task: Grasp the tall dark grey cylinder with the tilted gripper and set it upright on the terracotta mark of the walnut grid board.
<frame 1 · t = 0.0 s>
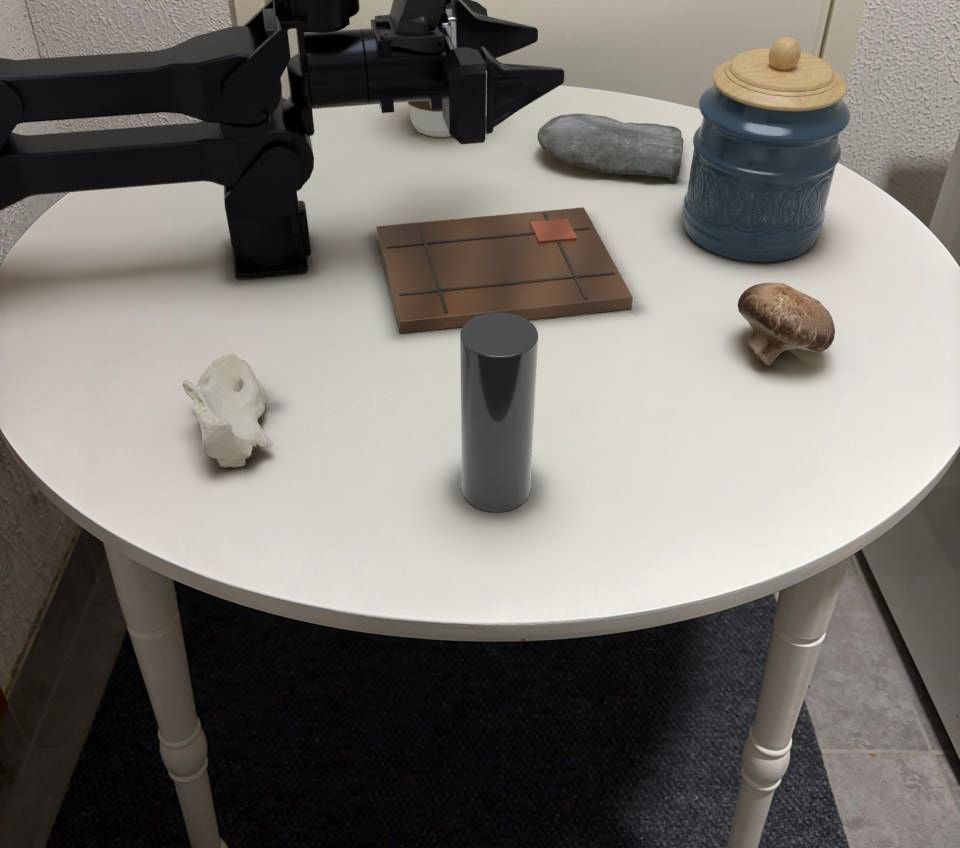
hand: (550, 54, 87), 17 cm above the table, tool horizontal, fingers open, 9 cm apart
coral: (232, 431, 78), on the table
coffee cup: (441, 127, 116), on the table
stone: (608, 159, 110), on the table
dark grey cylinder: (495, 488, 73), on the table
canister: (748, 231, 100), on the table
board: (498, 271, 94), on the table
mushroom: (777, 352, 86), on the table
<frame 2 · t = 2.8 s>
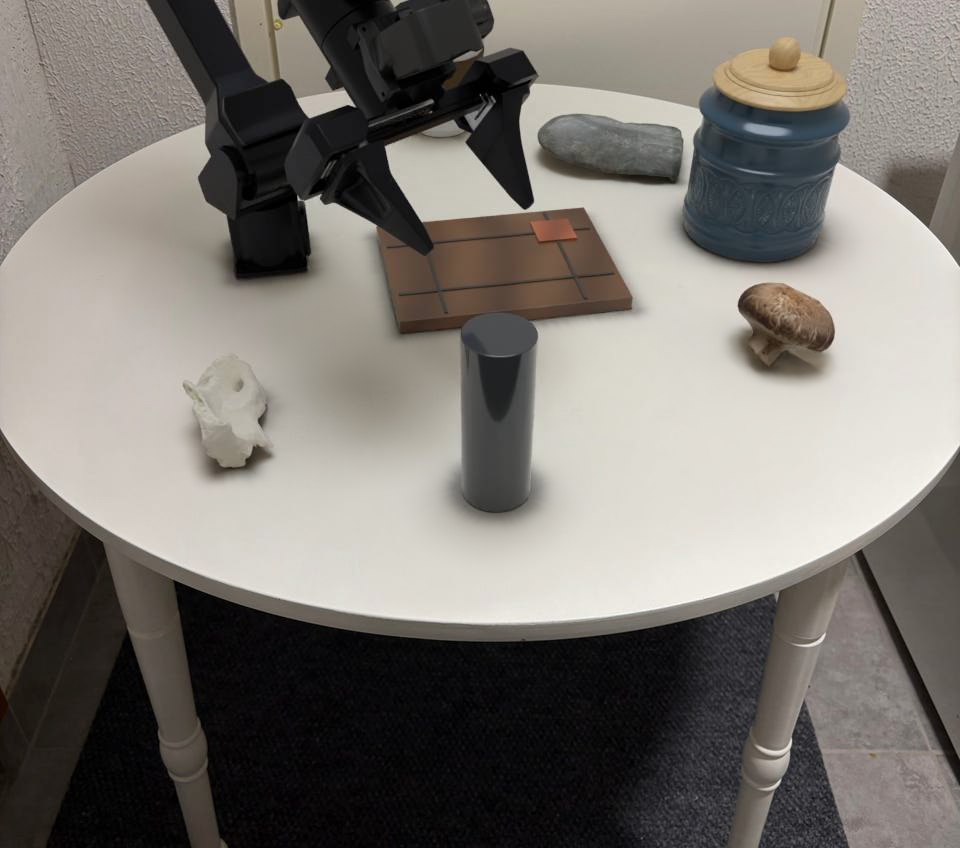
hand: (481, 228, 71), 15 cm above the table, tool tilted 50°, fingers open, 9 cm apart
nothing on the table moved.
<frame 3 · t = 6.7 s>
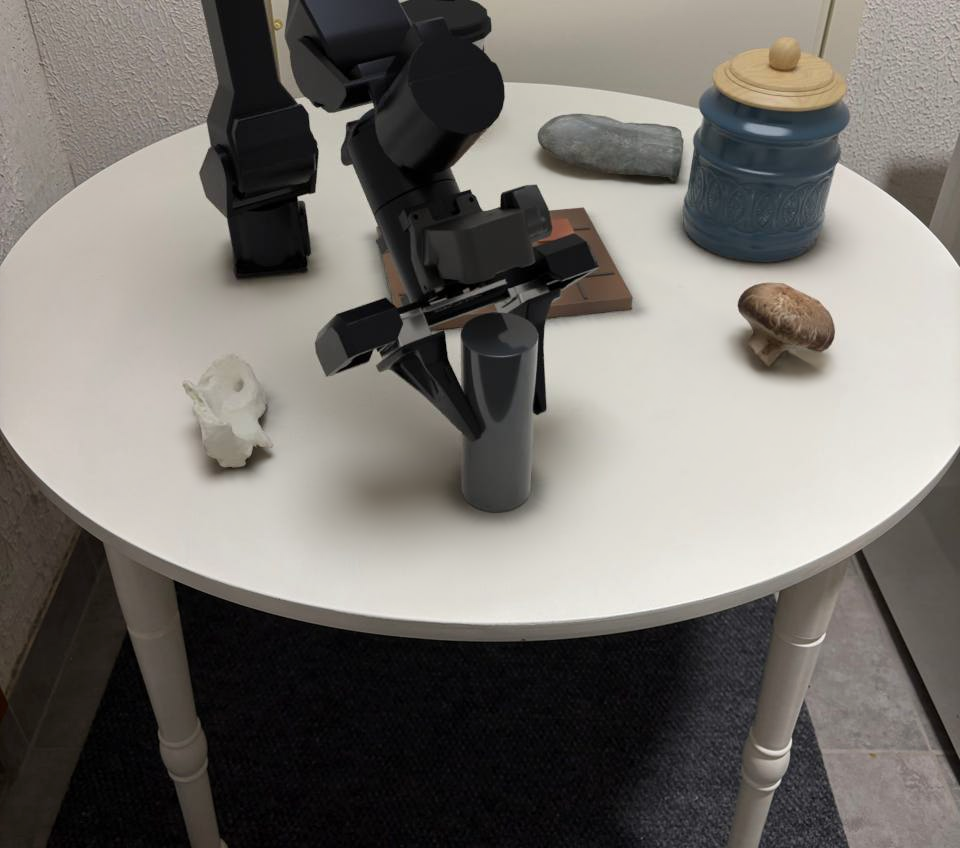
hand: (509, 426, 68), 7 cm above the table, tool tilted 45°, fingers closed on dark grey cylinder, 5 cm apart
dark grey cylinder: (496, 488, 73), on the table, touching gripper
everything else where it was.
when the fingers open (8 cm above the table, at t = 15.0 s): dark grey cylinder stays where it is, resting on board.
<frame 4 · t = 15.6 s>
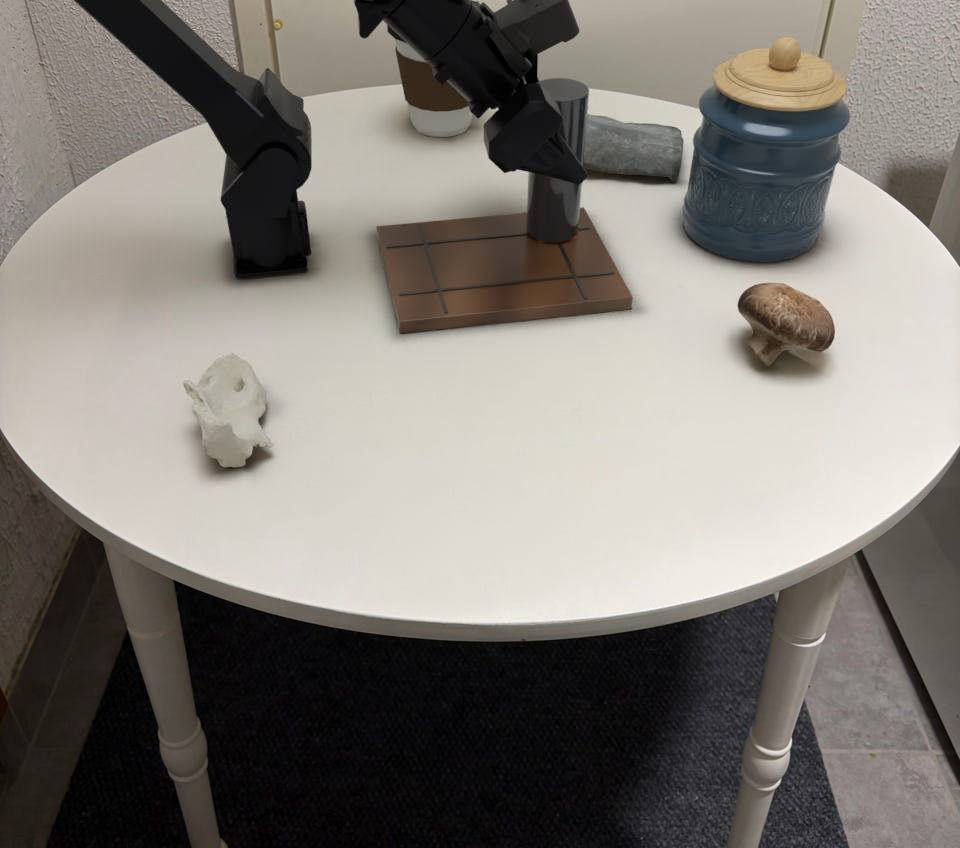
hand: (573, 155, 92), 9 cm above the table, tool tilted 45°, fingers open, 9 cm apart
dark grey cylinder: (552, 229, 97), point 1 cm above the table, touching board
everything else where it was.
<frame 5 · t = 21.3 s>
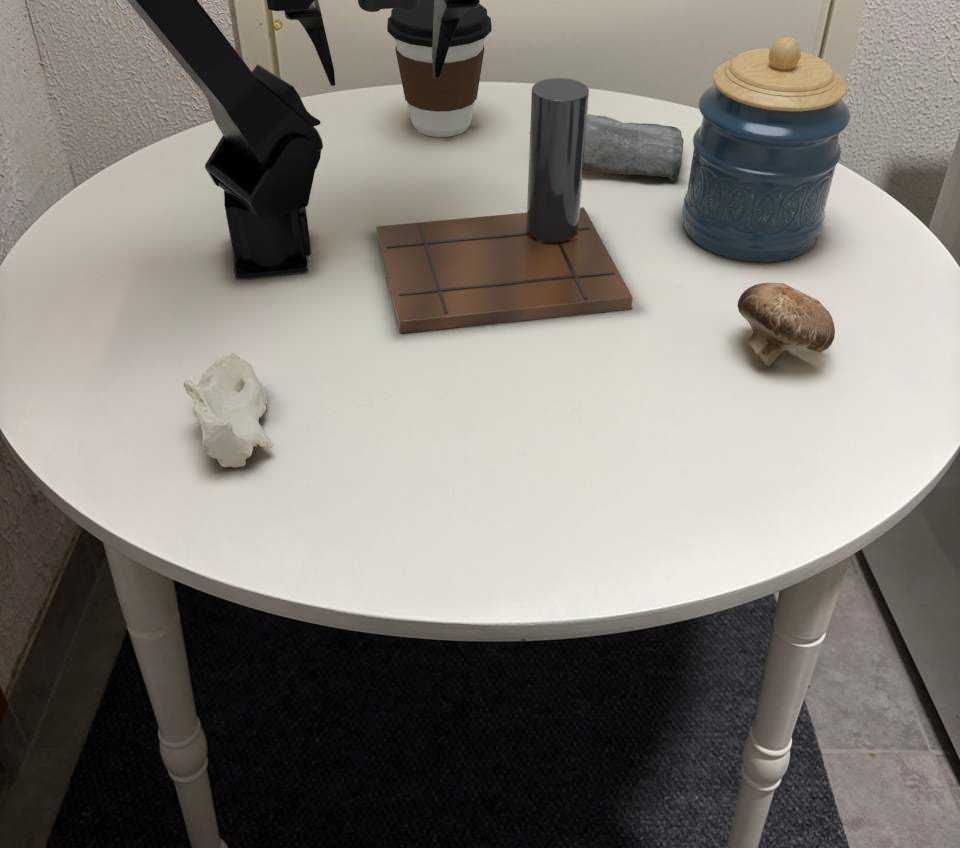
hand: (384, 80, 92), 13 cm above the table, tool pointing down, fingers open, 9 cm apart
nothing on the table moved.
at the end: dark grey cylinder 0.1 cm from the target spot on the board, point 1.4 cm above the board's base; dark grey cylinder tilted 0°; the gripper is holding nothing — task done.
